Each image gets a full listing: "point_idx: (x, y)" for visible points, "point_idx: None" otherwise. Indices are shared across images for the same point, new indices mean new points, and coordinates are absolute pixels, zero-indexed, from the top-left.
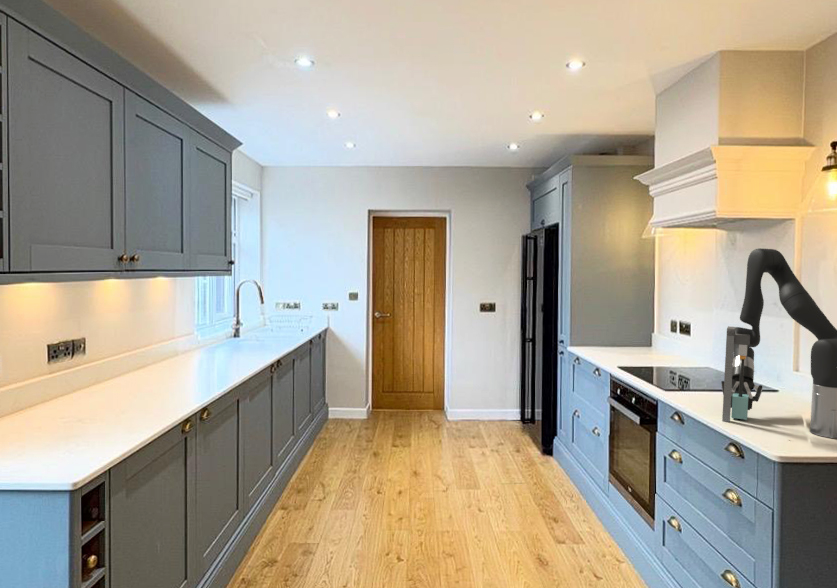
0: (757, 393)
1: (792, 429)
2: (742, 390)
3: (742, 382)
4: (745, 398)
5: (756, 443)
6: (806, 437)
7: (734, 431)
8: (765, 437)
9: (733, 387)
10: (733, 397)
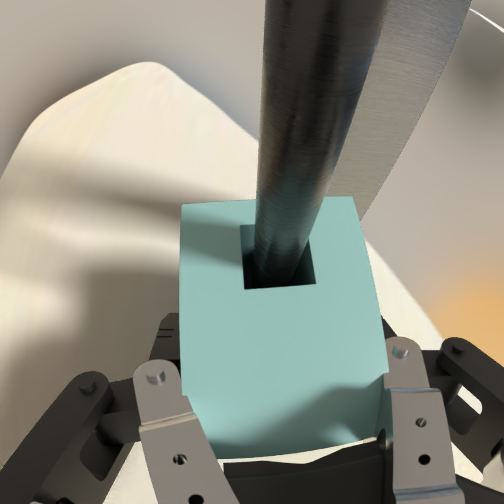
0: (62, 425)
1: (25, 349)
2: (257, 196)
3: (274, 47)
4: (211, 205)
5: (182, 85)
6: (10, 246)
7: (257, 153)
8: (144, 148)
9: (440, 427)
10: (338, 203)
